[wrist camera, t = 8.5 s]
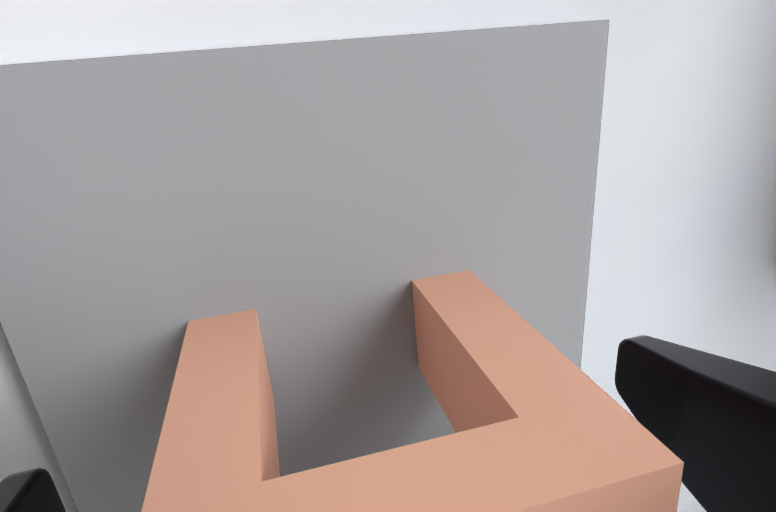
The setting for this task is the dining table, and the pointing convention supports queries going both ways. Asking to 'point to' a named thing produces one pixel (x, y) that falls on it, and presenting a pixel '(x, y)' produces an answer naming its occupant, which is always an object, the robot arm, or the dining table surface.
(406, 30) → the dining table surface
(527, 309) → the coaster
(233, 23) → the dining table surface
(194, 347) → the u-shaped block
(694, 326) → the dining table surface
